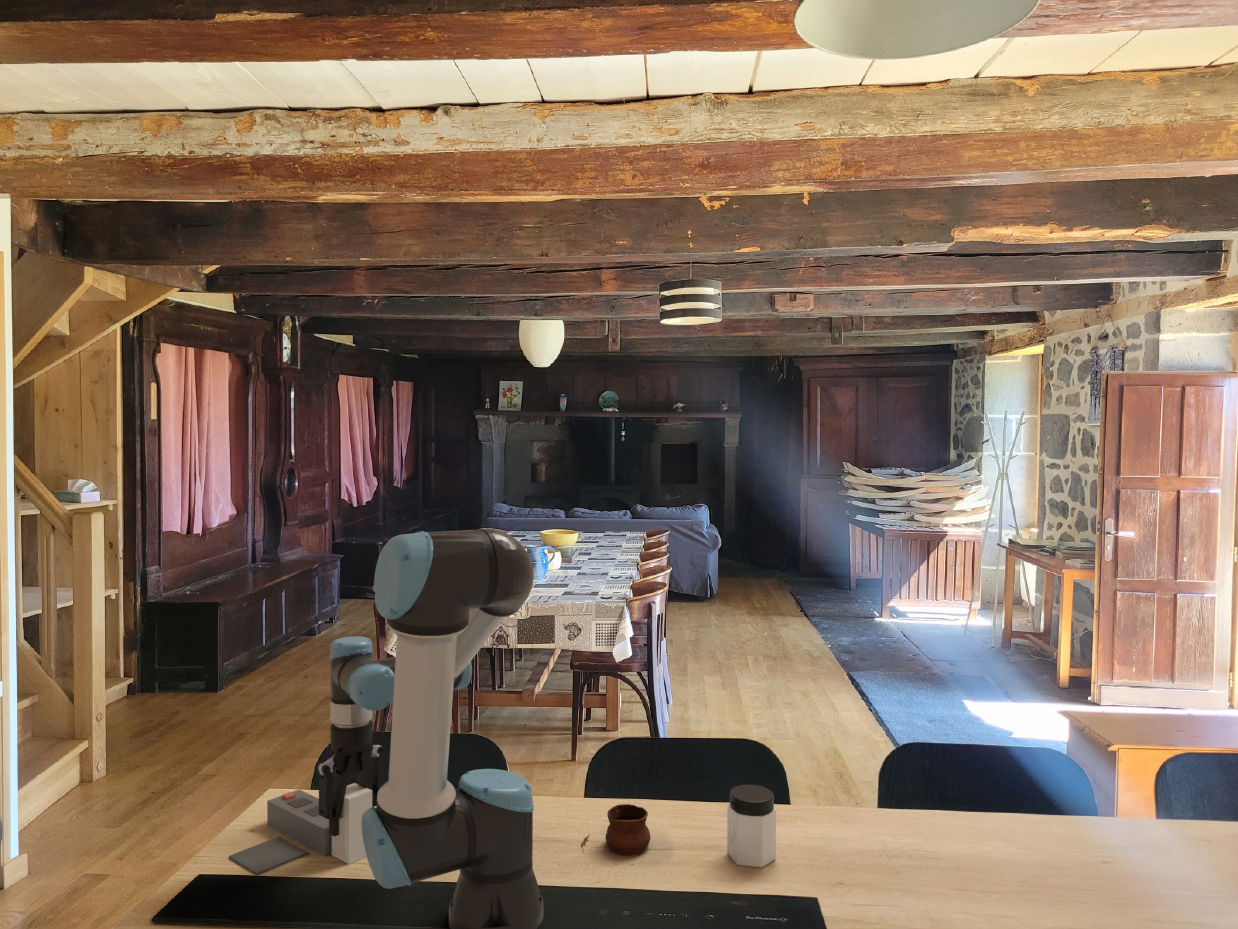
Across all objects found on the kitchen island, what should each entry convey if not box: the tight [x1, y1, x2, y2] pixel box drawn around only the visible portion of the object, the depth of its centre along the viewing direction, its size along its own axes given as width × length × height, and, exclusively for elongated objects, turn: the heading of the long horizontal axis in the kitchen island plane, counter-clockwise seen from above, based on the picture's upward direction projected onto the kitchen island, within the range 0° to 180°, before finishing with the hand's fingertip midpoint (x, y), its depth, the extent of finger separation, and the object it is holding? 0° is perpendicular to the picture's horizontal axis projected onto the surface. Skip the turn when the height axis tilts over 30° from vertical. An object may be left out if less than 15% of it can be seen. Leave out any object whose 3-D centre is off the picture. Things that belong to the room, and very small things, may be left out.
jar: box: [726, 784, 777, 869], centre depth 159 cm, size 9×8×12 cm
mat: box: [228, 835, 309, 876], centre depth 158 cm, size 10×10×1 cm
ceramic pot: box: [580, 803, 651, 857], centre depth 163 cm, size 18×18×7 cm
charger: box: [331, 782, 372, 865], centre depth 160 cm, size 8×5×12 cm, turn 52°
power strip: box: [266, 789, 332, 857], centre depth 167 cm, size 20×7×6 cm, turn 52°
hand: (352, 845), depth 159 cm, fingers closed on charger, 5 cm apart
